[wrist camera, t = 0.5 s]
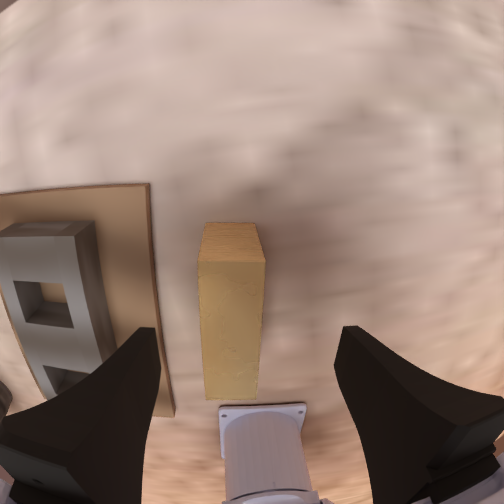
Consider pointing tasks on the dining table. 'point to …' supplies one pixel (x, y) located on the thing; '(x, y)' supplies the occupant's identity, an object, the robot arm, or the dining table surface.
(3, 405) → the beverage cup
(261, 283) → the pine wood offcut
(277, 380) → the dining table surface
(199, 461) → the dining table surface
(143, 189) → the rail board
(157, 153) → the dining table surface
